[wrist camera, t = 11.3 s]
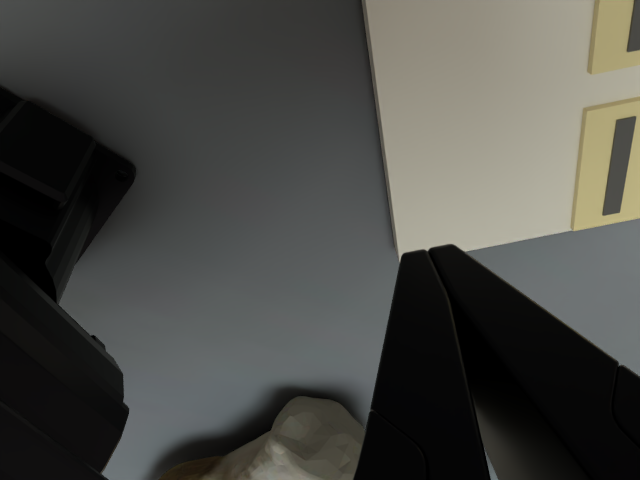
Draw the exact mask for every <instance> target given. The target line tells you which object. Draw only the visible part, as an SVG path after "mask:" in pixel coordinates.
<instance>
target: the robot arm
mask: <svg viewBox="0 0 640 480" xmlns="http://www.w3.org/2000/svg"><path fill="white" fill-rule="evenodd" d="M119 170H122V171H125V172H126V173H127V175H128V176H125V177H123V176H120V175H119V174H118V173H117V171H119ZM135 177H136V168H135V167H134V165H133V164H131V163H130V162H129V161H127V160H125V159H124V158H122V157H120V156H118V155H117V154H115V153H113V152H111V151H110V150H108V149H106V148H105V147H103V146H101V145H99V144H98V143H96V142H94V140H93V138H92V137H91V136H89V135H87V134H86V133H84V132H82V131H80V130H79V129H77V128H75V127H73V126H72V125H70V124H68V123H67V122H65V121H63V120H61V119H60V118H58V117H56V116H54V115H53V114H51V113H49V112H48V111H46V110H44V109H42V108H41V107H39V106H37V105H36V104H34V103H32V102H30V101H23V100H21V99H20V98H18V97H16V96H14V95H13V94H11V93H9V92H7V91H6V90H4V89H2V88H0V480H108V479H107V478H106V477H104V476H103V475H102V472H103V471H104V469H105V467H106V466H107V464H108V462H109V460H110V458H111V456H112V454H113V452H114V450H115V449H116V447H117V445H118V443H119V441H120V439H121V437H122V434H123V430H124V427H125V424H126V421H127V418H128V414H129V408H128V406H127V405H126V404H125V403H124V402H123V399H124V388H123V373H122V371H121V370H120V368H119V366H118V365H117V363H116V361H115V360H114V358H113V357H111V356H110V355H109V354H108V353H107V352H106V349H105V345H104V344H103V343H102V342H101V341H100V340H99V339H98V338H97V337H96V336H94V335H92V336H90V335H89V334H88V333H87V332H86V331H85V330H84V329H83V328H82V327H81V326H80V325H79V324H78V323H77V322H76V321H75V320H74V319H73V318H72V317H70V316H69V315H68V314H67V313H66V312H65V311H64V310H63V309H62V308H61V307H60V306H59V305H58V304H59V301H60V299H61V297H62V294H63V292H64V290H65V287H66V285H67V283H68V280H69V278H70V275H71V273H72V271H73V268H74V266H75V264H76V263H77V261H78V260H79V259H80V257H81V256H82V254H83V253H84V252H85V250H86V249H87V247H88V246H89V245H90V243H91V242H92V240H93V239H94V237H95V236H96V235H97V233H98V232H99V230H100V229H101V228H102V226H103V225H104V223H105V222H106V220H107V219H108V218H109V216H110V215H111V213H112V212H113V211H114V209H115V208H116V206H117V205H118V204H119V202H120V201H121V199H122V198H123V196H124V195H125V194H126V192H127V191H128V189H129V188H130V187H131V185H132V184H133V182H134V179H135ZM618 366H619V362H618V361H617V360H615V359H614V358H613V357H611V356H610V355H608V354H607V353H606V352H604V351H603V350H601V349H600V348H599V347H597V346H596V345H594V344H593V343H592V342H590V341H589V340H587V339H586V338H585V337H583V336H582V335H580V334H579V333H578V332H576V331H575V330H573V329H572V328H571V327H569V326H568V325H566V324H565V323H564V322H562V321H561V320H559V319H558V318H557V317H555V316H554V315H552V314H551V313H550V312H548V311H547V310H545V309H544V308H543V307H541V306H540V305H538V304H537V303H536V302H534V301H533V300H531V299H530V298H529V297H527V296H526V295H524V294H523V293H522V292H520V291H519V290H517V289H516V288H515V287H513V286H512V285H510V284H509V283H508V282H506V281H505V280H503V279H502V278H501V277H499V276H498V275H496V274H495V273H494V272H492V271H491V270H489V269H488V268H487V267H485V266H484V265H482V264H481V263H480V262H478V261H477V260H475V259H474V258H473V257H471V256H470V255H468V254H467V253H466V252H464V251H463V250H461V249H460V248H459V247H457V246H456V245H454V244H446V245H441V246H435V247H431V248H430V249H429V250H428V251H427V250H425V249H420V250H415V251H410V252H405V253H403V254H402V256H401V260H400V265H399V270H398V275H397V280H396V284H395V289H394V294H393V299H392V304H391V309H390V314H389V319H388V324H387V329H386V334H385V339H384V344H383V349H382V354H381V359H380V363H379V368H378V373H377V378H376V383H375V388H374V393H373V398H372V403H371V408H370V409H371V412H370V413H369V416H368V421H367V426H366V431H365V435H364V440H363V444H362V448H361V452H360V456H359V460H358V464H357V468H356V471H355V474H354V477H353V480H491V479H490V474H489V470H488V465H487V461H486V456H485V452H484V447H485V449H486V451H487V454H488V456H489V459H490V461H491V463H492V466H493V468H494V470H495V473H496V475H497V477H498V480H640V376H638V375H637V374H635V373H634V372H633V371H631V370H630V369H628V368H627V367H626V366H624V365H620V366H619V367H618ZM482 442H483V443H482ZM483 444H484V447H483Z"/></svg>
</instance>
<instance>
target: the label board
mask: <svg viewBox="0 0 640 480" xmlns="http://www.w3.org/2000/svg"><path fill="white" fill-rule="evenodd" d="M362 8H363V15H364V23H365V30H366V38H367V45H368V52H369V60H370V67H371V75H372V82H373V90H374V97H375V105H376V112H377V119H378V127H379V134H380V142H381V149H382V157H383V164H384V172H385V179H386V186H387V194H388V201H389V209H390V216H391V224H392V231H393V238H394V246H395V250H396V253H397V257H398V260H399V263H400V260H401V256H402V254H403V253H405V252H410V251H415V250H420V249H425V250H427V251H428V250H429V249H430V248H431V247H435V246H441V245H446V244H454V245H456V246H457V247H459V248H460V249H461V250H463V251H464V252H465V251H470V250H475V249H481V248H486V247H491V246H496V245H501V244H506V243H511V242H516V241H521V240H526V239H531V238H536V237H541V236H546V235H551V234H556V233H561V232H567V231H572V230H573V231H577V230H582V229H587V228H592V227H597V226H602V225H608V224H613V223H618V222H623V221H628V220H633V219H638V218H640V0H362Z"/></svg>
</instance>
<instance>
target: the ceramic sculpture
mask: <svg viewBox="0 0 640 480" xmlns="http://www.w3.org/2000/svg"><path fill="white" fill-rule="evenodd" d="M364 435H365V431H364V429H363V427H362V426H361V425H360V424H359V423H358V422H357V421H356V420H355V419H354V418H353V417H352V416H351V415H350V414H349V412H348V411H347V410H346V409H345V408H344V407H343V406H342V405H341V404H340V403H338V402H335V401H333V400H331V399H321V398H311V397H307V396H298V397H295V398H294V399H292V400H290V401H289V402H288V403H287V404H286V405H285V407H284V408H283V409H282V411H281V412H280V413H279V414H278V416H277V417H276V419H275V421H274V424H273V426H272V429H271V431H269V432H267V433H265V434H263V435H261V436H260V437H258V438H257V439H255V440H253V441H251V442H249V443H247V444H245V445H243V446H241V447H240V448H238V449H236V450H234V451H232V452H231V453H229V454H227V455H225V456H222V457H221V456H214V457H208V458H203V459H198V460H192V461H187V462H184V463H181V464H178V465H176V466H175V467H173V468H171V469H169V470H168V471H167V472H166V473H165V474H164V475H162V476H161V478H160V479H159V480H353V477H354V474H355V471H356V468H357V464H358V460H359V456H360V452H361V448H362V444H363V440H364Z"/></svg>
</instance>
